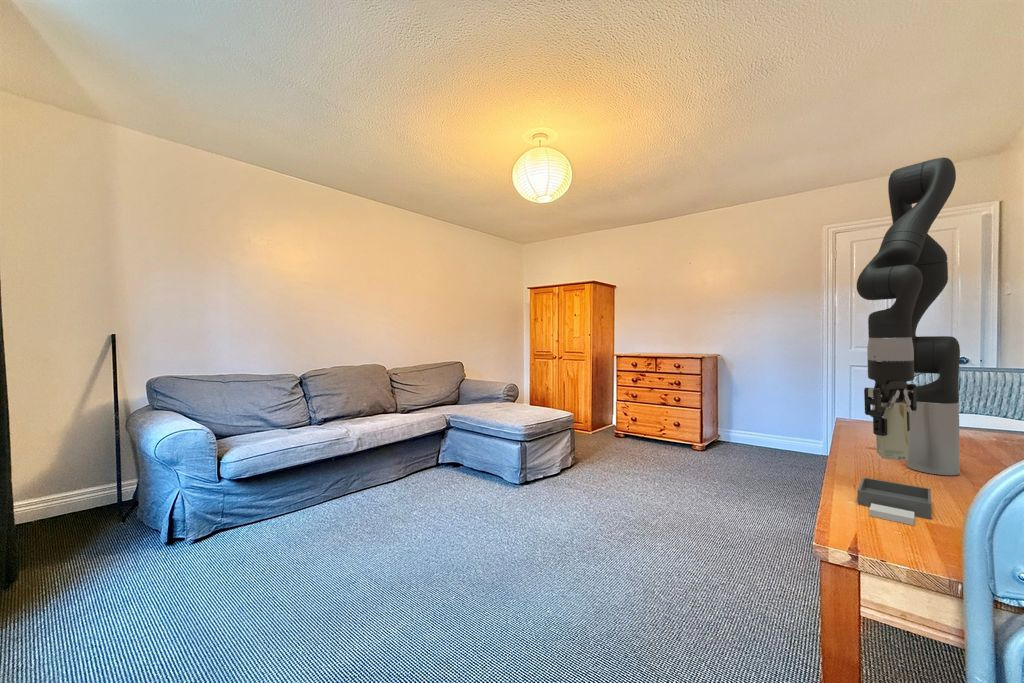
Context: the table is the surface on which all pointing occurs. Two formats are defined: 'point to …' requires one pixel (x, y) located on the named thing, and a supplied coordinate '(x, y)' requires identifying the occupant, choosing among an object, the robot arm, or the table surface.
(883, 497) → the grey open tray
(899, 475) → the table surface
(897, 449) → the skincare box
